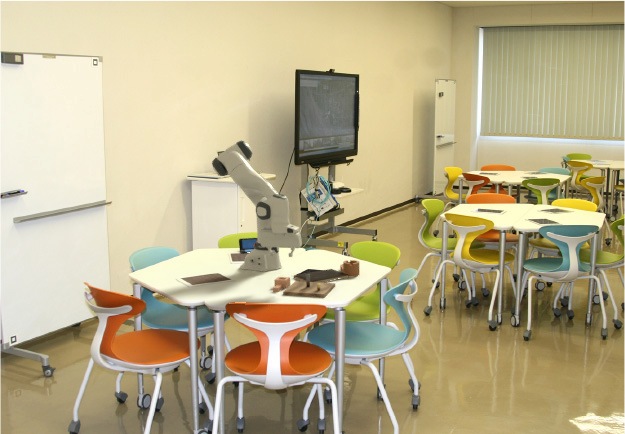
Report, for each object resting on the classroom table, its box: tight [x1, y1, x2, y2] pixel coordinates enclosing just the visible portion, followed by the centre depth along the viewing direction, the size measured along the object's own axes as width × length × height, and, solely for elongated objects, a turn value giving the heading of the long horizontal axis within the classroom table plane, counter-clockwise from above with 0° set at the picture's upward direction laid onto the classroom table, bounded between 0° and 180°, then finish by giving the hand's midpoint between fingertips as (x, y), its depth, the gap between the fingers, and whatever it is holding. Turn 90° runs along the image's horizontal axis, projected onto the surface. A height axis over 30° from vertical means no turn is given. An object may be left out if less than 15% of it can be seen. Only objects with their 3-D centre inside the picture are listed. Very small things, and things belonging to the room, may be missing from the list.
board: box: [282, 280, 336, 298], centre depth 336 cm, size 20×20×2 cm
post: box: [306, 274, 310, 287], centre depth 337 cm, size 2×2×6 cm
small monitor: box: [238, 237, 258, 254], centre depth 425 cm, size 12×11×7 cm
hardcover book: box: [293, 268, 349, 283], centre depth 359 cm, size 16×23×2 cm
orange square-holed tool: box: [272, 276, 291, 293], centre depth 340 cm, size 6×13×4 cm, turn 164°
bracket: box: [339, 259, 360, 277], centre depth 370 cm, size 18×8×7 cm, turn 7°
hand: (281, 256), depth 341 cm, fingers open, 8 cm apart
